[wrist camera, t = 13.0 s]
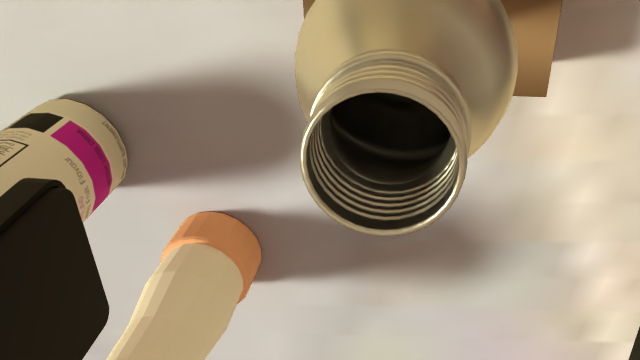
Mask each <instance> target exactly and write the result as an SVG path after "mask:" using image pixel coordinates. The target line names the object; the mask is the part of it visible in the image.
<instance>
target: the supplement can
mask: <svg viewBox="0 0 640 360" xmlns="http://www.w3.org/2000/svg"><path fill="white" fill-rule="evenodd" d="M127 165H128V162H127V155H126V148H125V146H124V144H123V142H122V140H121V138H120V136H119V134H118V132H117V130H116V129H115V128H114V127H113V126H112V125H111V124H110V123H109V121H108V120H107V119H106V118H105V117H104V116H103V115H101V114H100V113H98V112H97V111H95V110H93V109H92V108H90V107H89V106H87V105H85V104H82V103H79V102H76V101H72V100H69V99H56V100H49V101H47V102H45V103H43V104H41V105H39V106H37V107H36V108H34V109H33V110H31V111H30V112H28V113H27V114H25V115H24V116H22V117H21V118H20V119H18V120H17V121H15V122H14V123H12V124H11V125H9V126H8V127H6V128H5V129H3V130H2V131H0V196H2V195H3V194H4V193H5V192H6V191H7V190H9V189H10V188H11V187H12V186H13V185H15V184H16V183H17V182H18V181H20V180H21V179H23V178H40V179H54V180H59V181H61V182H62V183H63V184H64V185H65V187H66V189H68V190H70V191H71V192H72V193H73V195H74V197H75V200H76V203H77V206H78V209H79V212H80V216H81V219H82V222H84V221H85V220H86V219H87V218H88V217H89V216H90V215H91V214H92V212H93V211H94V210H95V209H96V208H97V207H98V206H99V205H100V204H101V203H102V202H103V201H104V200H105V199H106V197H107V196H108V195H109V194H110V193H111V192H112V191H113V190H114V189H115V188H116V187H117V186H118V184H119V183H120V182H121V181H122V180H123V179H124V177H125V173H126V169H127Z"/></svg>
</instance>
